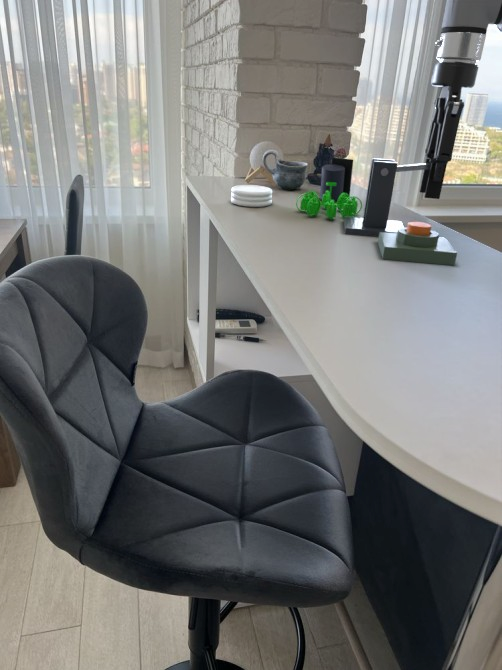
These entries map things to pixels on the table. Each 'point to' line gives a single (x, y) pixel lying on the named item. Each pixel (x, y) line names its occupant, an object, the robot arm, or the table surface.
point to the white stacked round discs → (251, 195)
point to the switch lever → (413, 167)
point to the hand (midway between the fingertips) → (429, 195)
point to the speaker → (337, 177)
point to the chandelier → (329, 204)
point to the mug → (286, 172)
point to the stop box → (416, 247)
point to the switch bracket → (376, 202)
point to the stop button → (418, 228)
